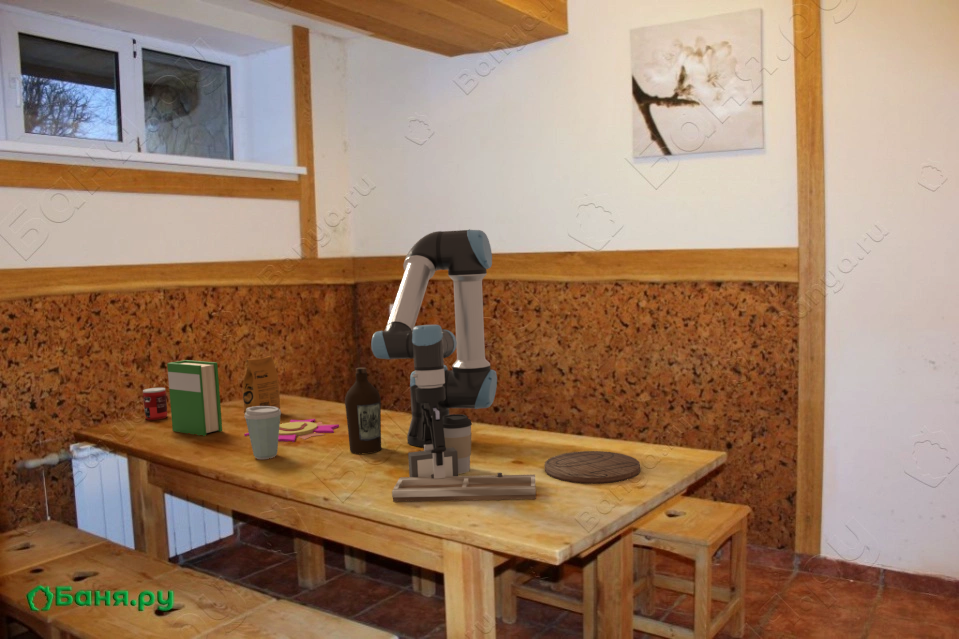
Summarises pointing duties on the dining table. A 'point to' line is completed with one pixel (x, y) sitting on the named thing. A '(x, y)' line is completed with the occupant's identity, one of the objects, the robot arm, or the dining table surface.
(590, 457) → the trivet
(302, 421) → the wall ornament
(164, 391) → the canned food
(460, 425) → the coffee cup
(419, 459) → the picture frame
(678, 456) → the dining table surface
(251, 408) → the disposable coffee cup
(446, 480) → the wooden compartment tray
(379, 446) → the olive oil
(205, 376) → the hardback book
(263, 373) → the coffee package
